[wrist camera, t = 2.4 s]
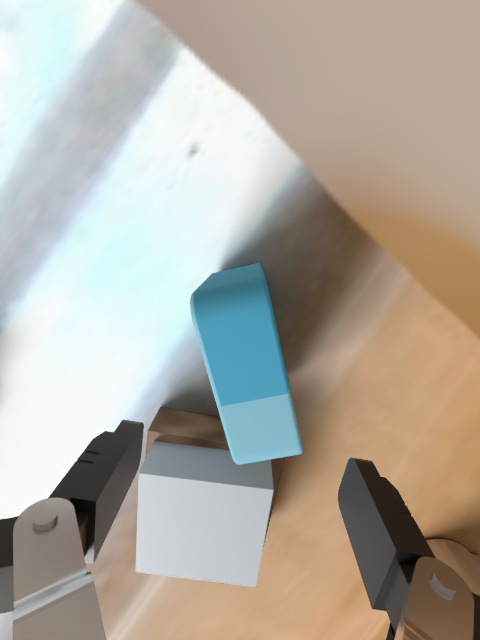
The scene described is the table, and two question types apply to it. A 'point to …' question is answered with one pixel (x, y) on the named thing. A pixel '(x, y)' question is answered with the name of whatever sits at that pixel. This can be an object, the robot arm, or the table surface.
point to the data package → (246, 364)
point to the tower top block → (202, 514)
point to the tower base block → (198, 437)
